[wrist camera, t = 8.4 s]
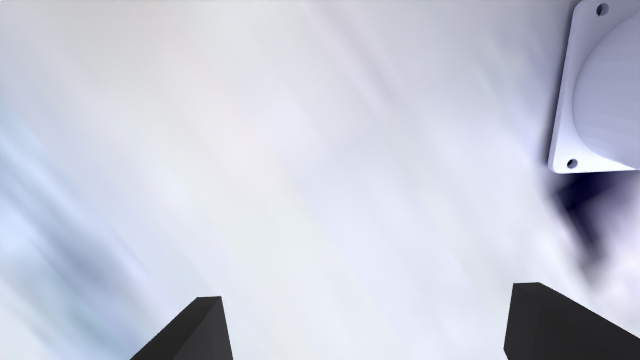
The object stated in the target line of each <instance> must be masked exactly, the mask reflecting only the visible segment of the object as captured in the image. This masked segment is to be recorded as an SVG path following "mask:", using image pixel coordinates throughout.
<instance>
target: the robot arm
mask: <svg viewBox="0 0 640 360" xmlns="http://www.w3.org/2000/svg"><path fill="white" fill-rule="evenodd" d="M599 5H601V7H602V12H601V14H600V15H599V16H598V15H597V14H596V9H597V7H598V6H599ZM571 159H572V164H571V165H569V166H567V163H568V161H569V160H571ZM548 167H549V169H550V170H551V171H553V172H555V173H579V172H600V171H620V170H640V0H582V1H581V2H579V3H578V4H577V6H576V7H575V9H574V12H573V18H572V23H571V29H570V35H569V41H568V47H567V53H566V59H565V65H564V70H563V76H562V82H561V88H560V94H559V100H558V106H557V112H556V117H555V123H554V129H553V135H552V141H551V147H550V153H549V159H548ZM504 351H505V354H506V356H507V358H508V360H640V338H638V337H636V336H634V335H633V334H631V333H629V332H627V331H626V330H624V329H622V328H620V327H619V326H617V325H615V324H613V323H612V322H610V321H608V320H606V319H605V318H603V317H601V316H599V315H598V314H596V313H594V312H592V311H591V310H589V309H587V308H585V307H584V306H582V305H580V304H578V303H577V302H575V301H573V300H571V299H570V298H568V297H566V296H564V295H562V294H561V293H559V292H557V291H555V290H553V289H551V288H549V287H547V286H545V285H543V284H541V283H539V282H535V283H513V289H512V296H511V302H510V309H509V316H508V322H507V329H506V336H505V342H504ZM130 360H233V356H232V351H231V346H230V340H229V335H228V330H227V325H226V319H225V314H224V309H223V303H222V298H221V296H216V297H197V298H196V299H195V300H194V301H192V302H191V303H190V304H189V305H188V306H187V307H186V308H185V309H184V310H183V311H182V312H180V313H179V314H178V315H177V316H176V317H175V318H174V319H173V320H172V321H171V322H170V323H169V324H168V325H167V326H166V327H165V328H163V329H162V330H161V331H160V332H159V333H158V334H157V335H156V336H155V337H154V338H153V339H152V340H151V341H149V342H148V343H147V344H146V345H145V346H144V347H143V348H142V349H141V350H140V351H139V352H137V353H136V354H135V355H134V356H133V357H132V358H131V359H130Z"/></svg>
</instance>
